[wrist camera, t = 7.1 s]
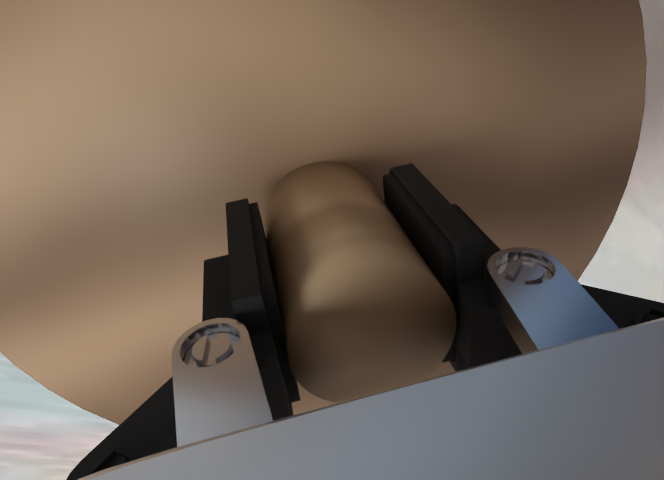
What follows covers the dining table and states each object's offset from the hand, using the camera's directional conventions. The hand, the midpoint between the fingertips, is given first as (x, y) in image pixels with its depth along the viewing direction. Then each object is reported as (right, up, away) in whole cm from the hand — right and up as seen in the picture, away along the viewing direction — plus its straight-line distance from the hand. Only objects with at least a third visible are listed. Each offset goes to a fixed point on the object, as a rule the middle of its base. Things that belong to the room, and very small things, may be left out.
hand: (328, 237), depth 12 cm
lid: (0, +1, +2) cm, 2 cm away
